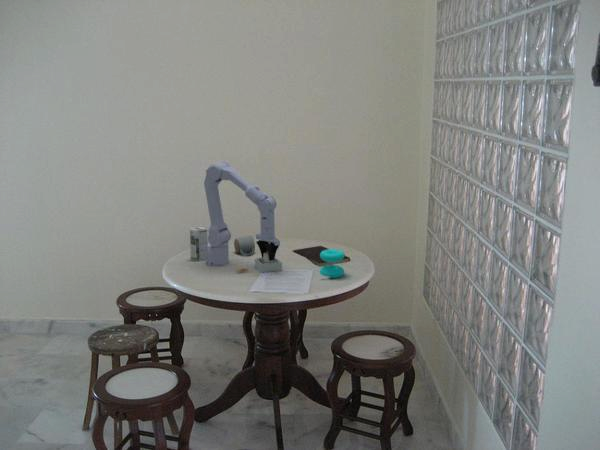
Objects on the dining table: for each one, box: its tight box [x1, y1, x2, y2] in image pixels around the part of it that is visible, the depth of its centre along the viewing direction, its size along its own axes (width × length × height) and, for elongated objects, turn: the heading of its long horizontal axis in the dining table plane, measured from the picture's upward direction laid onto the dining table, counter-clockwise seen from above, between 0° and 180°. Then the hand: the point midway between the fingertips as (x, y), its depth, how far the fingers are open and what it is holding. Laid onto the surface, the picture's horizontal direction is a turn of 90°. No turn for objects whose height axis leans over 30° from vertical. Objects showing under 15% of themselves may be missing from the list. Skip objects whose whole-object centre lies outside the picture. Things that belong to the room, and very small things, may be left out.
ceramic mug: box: [233, 235, 256, 257], centre depth 301 cm, size 11×8×8 cm
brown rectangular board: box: [234, 268, 251, 275], centre depth 274 cm, size 20×13×1 cm, turn 109°
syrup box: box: [189, 226, 209, 263], centre depth 290 cm, size 6×6×14 cm
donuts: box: [319, 248, 346, 279], centre depth 269 cm, size 10×10×10 cm
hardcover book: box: [291, 245, 351, 267], centre depth 295 cm, size 16×23×2 cm
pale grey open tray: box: [254, 256, 283, 273], centre depth 275 cm, size 9×9×4 cm
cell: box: [263, 251, 273, 264], centre depth 274 cm, size 4×4×7 cm
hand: (268, 258), depth 274 cm, fingers open, 5 cm apart
